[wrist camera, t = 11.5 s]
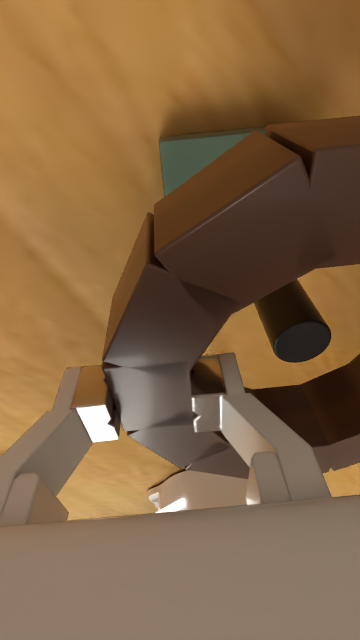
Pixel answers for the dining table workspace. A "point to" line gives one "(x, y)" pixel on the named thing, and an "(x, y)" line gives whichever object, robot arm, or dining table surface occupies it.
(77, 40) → the dining table surface
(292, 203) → the ring
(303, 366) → the dining table surface
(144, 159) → the dining table surface
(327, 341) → the stand
